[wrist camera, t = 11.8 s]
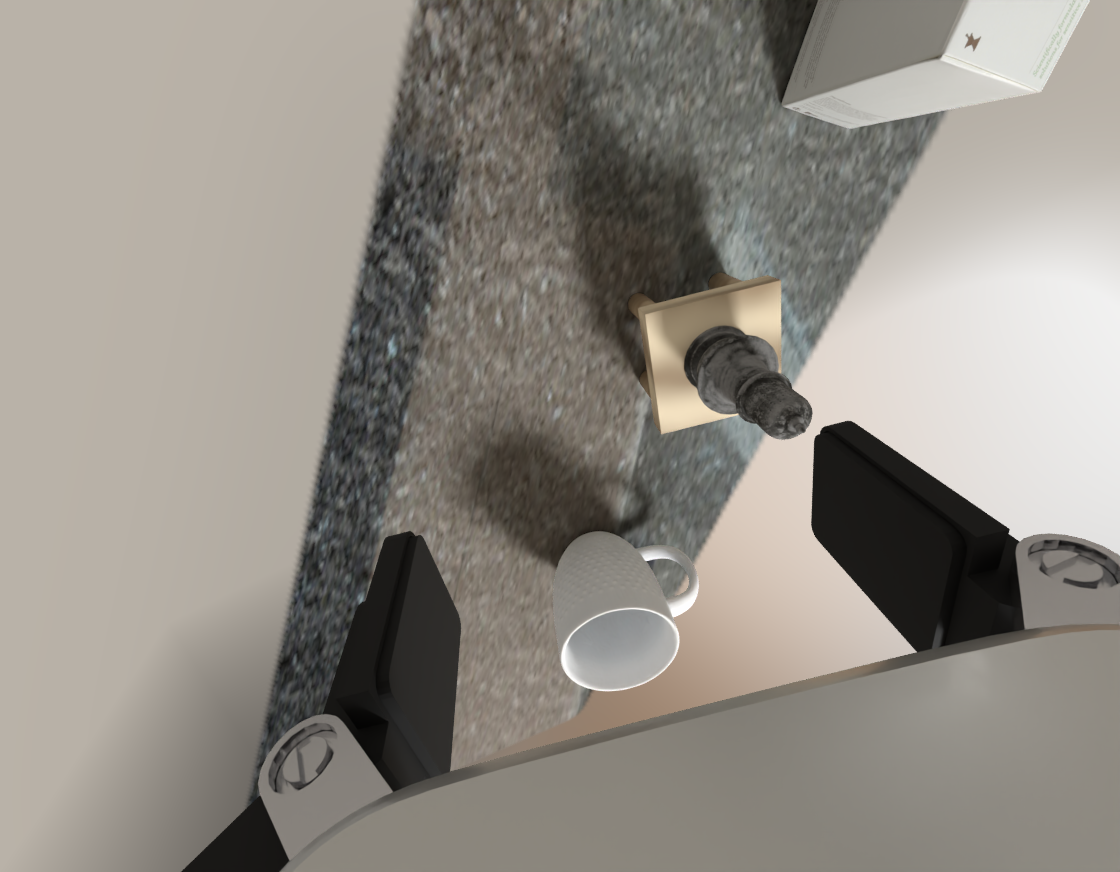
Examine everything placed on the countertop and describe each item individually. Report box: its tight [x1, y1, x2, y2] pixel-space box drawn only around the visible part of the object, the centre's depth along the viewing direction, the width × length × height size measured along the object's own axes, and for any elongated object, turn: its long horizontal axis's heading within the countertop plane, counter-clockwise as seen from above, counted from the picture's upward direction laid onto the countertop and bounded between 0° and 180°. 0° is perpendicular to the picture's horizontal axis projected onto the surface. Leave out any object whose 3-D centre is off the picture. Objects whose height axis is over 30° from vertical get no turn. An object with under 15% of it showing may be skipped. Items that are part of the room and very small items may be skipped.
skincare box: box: [782, 0, 1090, 129], centre depth 29 cm, size 8×7×16 cm
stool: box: [628, 273, 781, 434], centre depth 41 cm, size 10×10×8 cm
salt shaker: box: [684, 325, 812, 440], centre depth 32 cm, size 6×6×12 cm
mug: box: [553, 531, 699, 691], centre depth 50 cm, size 15×11×13 cm
